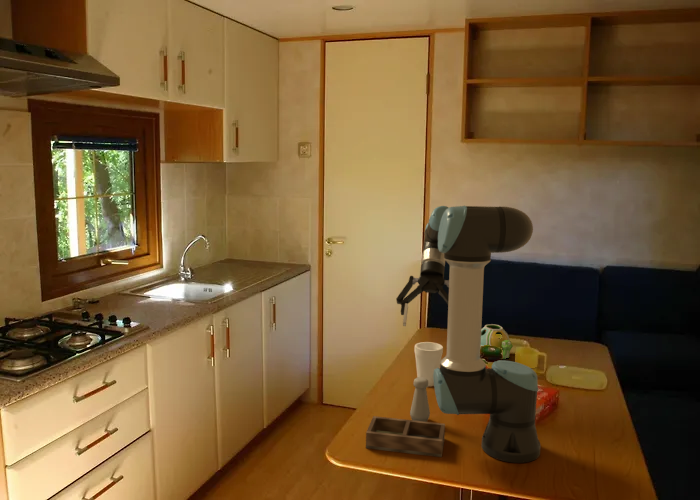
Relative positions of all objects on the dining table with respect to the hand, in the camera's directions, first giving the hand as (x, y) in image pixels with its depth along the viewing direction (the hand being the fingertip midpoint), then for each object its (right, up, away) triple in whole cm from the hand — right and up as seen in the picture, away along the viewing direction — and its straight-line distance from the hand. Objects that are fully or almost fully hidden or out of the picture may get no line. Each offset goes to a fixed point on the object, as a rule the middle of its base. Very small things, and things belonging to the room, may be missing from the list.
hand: (426, 326), depth 187 cm
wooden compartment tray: (-8, -29, -20) cm, 37 cm away
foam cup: (+3, -22, +23) cm, 32 cm away
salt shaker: (-3, -27, -7) cm, 28 cm away
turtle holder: (+32, -18, +49) cm, 62 cm away
